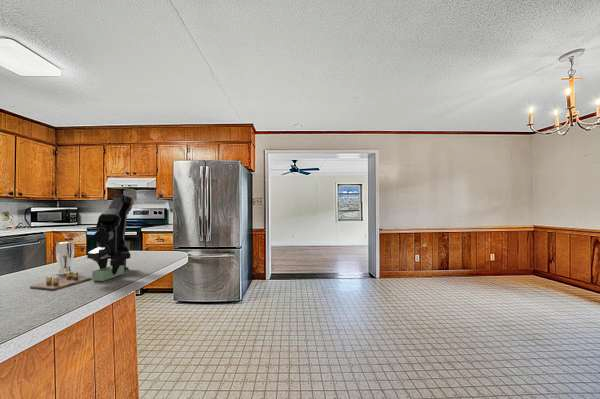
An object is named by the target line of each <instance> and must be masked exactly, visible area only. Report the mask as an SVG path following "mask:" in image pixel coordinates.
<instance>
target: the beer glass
mask: <svg viewBox="0 0 600 399" xmlns="http://www.w3.org/2000/svg"><path fill="white" fill-rule="evenodd" d="M74 257H75V241H72V240H71V241H60V242H59V241H58V242H56V244H55V258H56V263H57V270H56V275H57V276H60V275H61V276H64V275H66V272H72V274H73V273H74V268H73V261H74Z"/></svg>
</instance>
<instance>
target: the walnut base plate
mask: <svg viewBox="0 0 600 399" xmlns="http://www.w3.org/2000/svg"><path fill="white" fill-rule="evenodd" d="M65 275H66V276H65V277H59V276H54V277H53V276H51V275H50V276H46V278H45V281H44V282H40V283H37V284H33V285H29V286H30V287H29V288H30V289H34V290H42V291H43V290H44V291H52V292H53V291H56V290H60V289H64V288H67V287H70V286H73V285H77V284H81V283H84V282H88V281H92V277H88V276H79V272H78V271H75V272H74V271H73V273H72V272H66V274H65Z"/></svg>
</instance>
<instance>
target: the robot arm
mask: <svg viewBox="0 0 600 399" xmlns="http://www.w3.org/2000/svg"><path fill="white" fill-rule="evenodd" d="M112 198H113V199H112V201H111V202H110V205H109V206H108V208H107V209H105V210H103V211H102V212H101V214H100V215H98V218H97V223H96V226H95V229H96V230H97V231H95V233H94V234H93V240H94V241H95V242H96V243H97V244H98V247H96V248H94V249H92V250H90V251H88V252H87V254H86V255H87V257H86V258H87V259H89V260H92V261H93V262H96V263H97V265H98V268H99V269H102V268H105V267H108V262H109V264H110V265H109V266H112V272H113V275H114V274H116V272H117V270H118V268H119V267H120V265H124V271H125V270H127V269H129V267H127V260H128V259H131V253H130V249H129V247H128V243H127V242H126V240H125V236H126V235H125V234H126V229H127V228H126V227H127V220H128V214H129V213H130V211H131V210H132V209H133V206H134V199H133V198H132V197H130V196H128V195H124V194H115V195H113V196H112ZM109 259H110V260H109Z"/></svg>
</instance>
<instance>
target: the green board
mask: <svg viewBox="0 0 600 399" xmlns="http://www.w3.org/2000/svg"><path fill="white" fill-rule="evenodd" d="M124 274H125V270H124V265H120V267H119V268H118V270H117V272H116V274H114V275H113V272H112V266H110V265H109V266H108V265H107V266H106V267H105V268H102V269H100V268H99V269H95V270H92V272H91V278H92V279H91V281H96V282H97V281H99V282H104V281H108V280H110V279H113V278H115V277H119V276H122V275H124Z"/></svg>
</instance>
